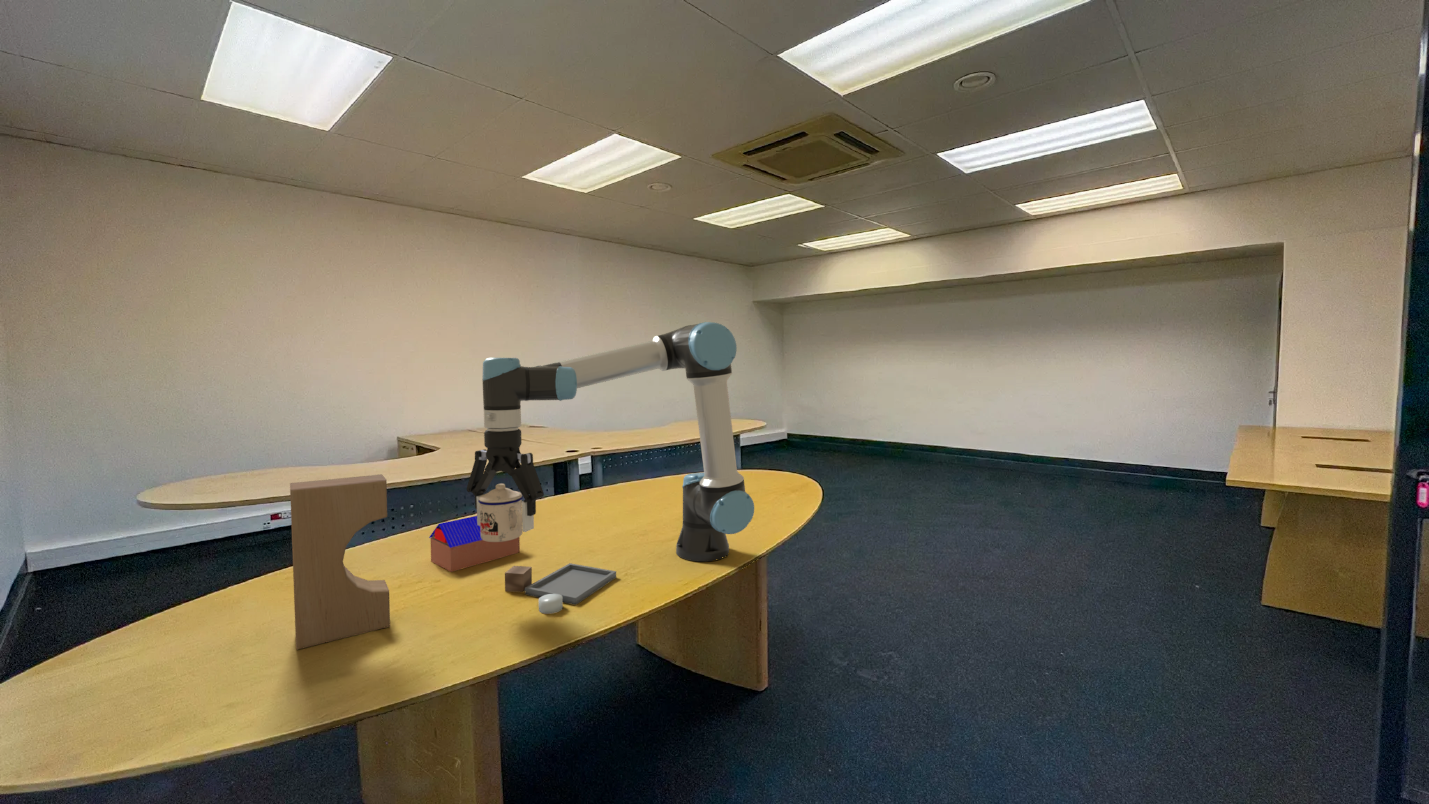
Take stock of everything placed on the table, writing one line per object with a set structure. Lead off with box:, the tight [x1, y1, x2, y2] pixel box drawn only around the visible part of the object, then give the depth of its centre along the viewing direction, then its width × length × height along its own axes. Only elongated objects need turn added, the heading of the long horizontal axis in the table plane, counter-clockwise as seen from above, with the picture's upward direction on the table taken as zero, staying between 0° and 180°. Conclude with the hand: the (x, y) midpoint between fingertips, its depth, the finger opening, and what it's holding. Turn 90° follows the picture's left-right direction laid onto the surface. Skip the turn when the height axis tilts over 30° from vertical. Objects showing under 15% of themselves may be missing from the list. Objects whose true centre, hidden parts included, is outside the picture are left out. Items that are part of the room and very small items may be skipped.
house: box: [428, 515, 521, 573], centre depth 148 cm, size 12×20×12 cm, turn 141°
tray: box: [524, 562, 617, 606], centre depth 130 cm, size 14×17×2 cm
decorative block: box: [289, 474, 391, 650], centre depth 106 cm, size 15×8×30 cm, turn 128°
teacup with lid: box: [478, 483, 524, 542], centre depth 118 cm, size 12×9×12 cm
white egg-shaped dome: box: [538, 594, 563, 615], centre depth 118 cm, size 5×5×2 cm
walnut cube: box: [504, 565, 533, 593], centre depth 128 cm, size 4×4×4 cm
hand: (505, 526), depth 118 cm, fingers closed on teacup with lid, 12 cm apart
